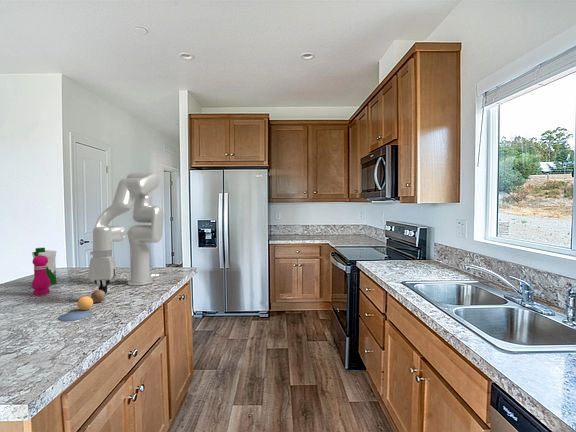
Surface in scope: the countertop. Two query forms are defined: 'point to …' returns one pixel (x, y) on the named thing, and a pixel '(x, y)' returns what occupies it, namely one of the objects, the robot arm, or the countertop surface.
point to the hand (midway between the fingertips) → (102, 294)
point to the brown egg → (98, 296)
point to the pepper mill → (40, 275)
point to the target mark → (74, 315)
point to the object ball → (85, 303)
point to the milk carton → (50, 265)
